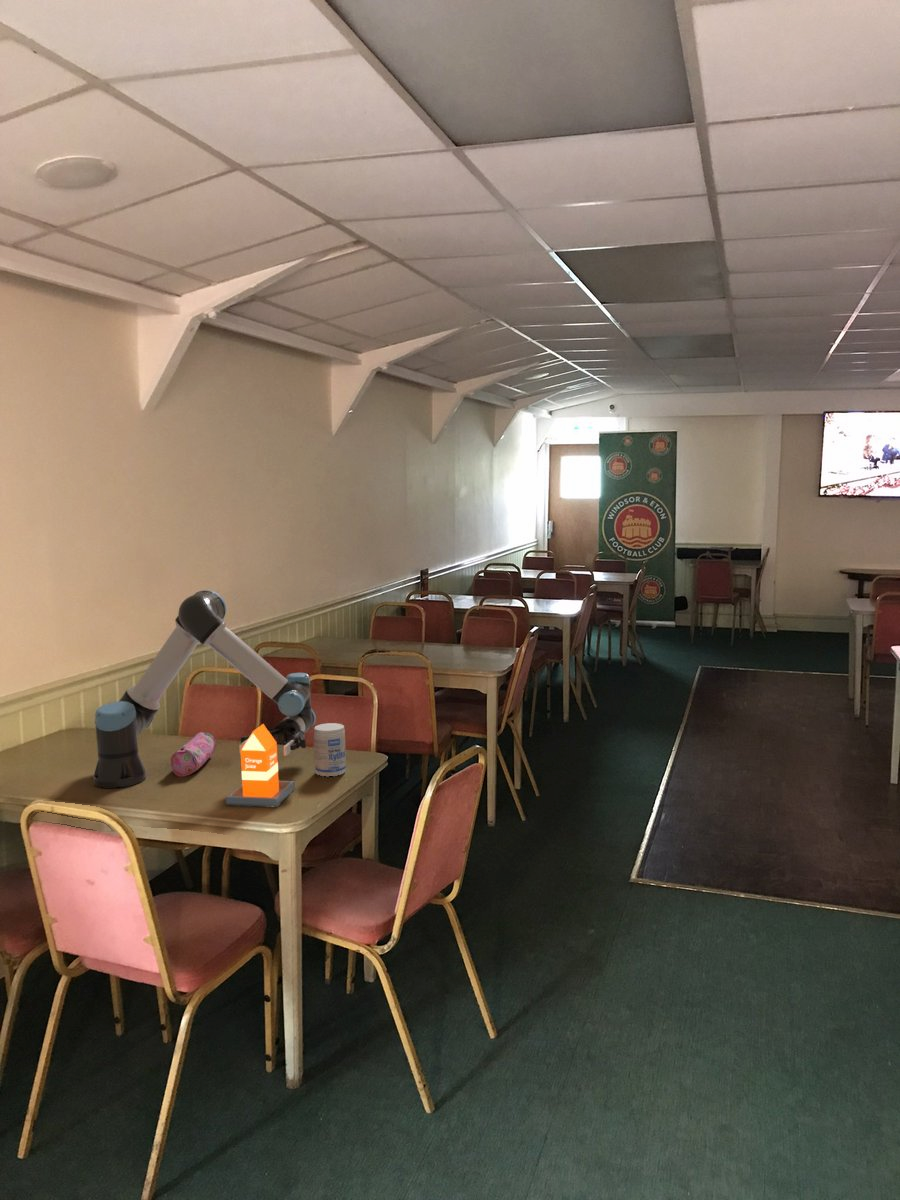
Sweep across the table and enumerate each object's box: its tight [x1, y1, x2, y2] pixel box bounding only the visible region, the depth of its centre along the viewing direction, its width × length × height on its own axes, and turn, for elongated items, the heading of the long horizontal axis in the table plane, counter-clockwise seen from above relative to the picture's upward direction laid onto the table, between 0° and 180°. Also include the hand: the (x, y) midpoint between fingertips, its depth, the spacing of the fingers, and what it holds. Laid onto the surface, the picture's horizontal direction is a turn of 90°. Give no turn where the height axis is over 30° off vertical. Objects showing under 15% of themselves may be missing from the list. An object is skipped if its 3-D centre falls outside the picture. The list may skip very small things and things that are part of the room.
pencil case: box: [170, 731, 217, 777], centre depth 295 cm, size 21×9×9 cm, turn 176°
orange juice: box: [240, 723, 280, 797], centre depth 264 cm, size 8×9×20 cm
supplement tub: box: [313, 722, 347, 778], centre depth 285 cm, size 10×10×15 cm
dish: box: [225, 780, 296, 808], centre depth 265 cm, size 15×15×2 cm
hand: (262, 750), depth 265 cm, fingers open, 13 cm apart
